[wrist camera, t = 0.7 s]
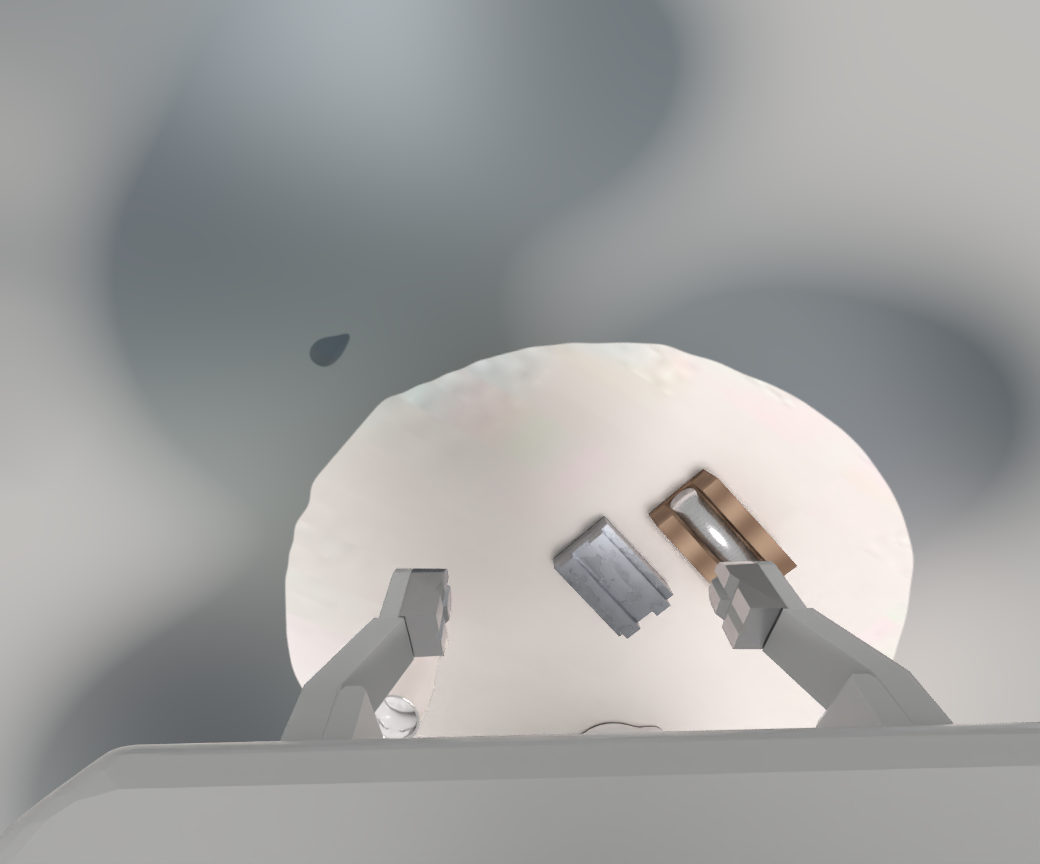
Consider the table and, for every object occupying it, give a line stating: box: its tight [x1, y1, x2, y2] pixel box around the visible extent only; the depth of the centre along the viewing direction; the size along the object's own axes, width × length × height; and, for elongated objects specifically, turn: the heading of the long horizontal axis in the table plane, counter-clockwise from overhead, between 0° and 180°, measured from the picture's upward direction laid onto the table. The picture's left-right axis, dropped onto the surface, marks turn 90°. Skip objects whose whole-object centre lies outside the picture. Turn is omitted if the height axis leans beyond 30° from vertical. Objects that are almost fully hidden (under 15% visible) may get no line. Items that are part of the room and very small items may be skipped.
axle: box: [670, 488, 759, 562], centre depth 55 cm, size 16×4×4 cm, turn 43°
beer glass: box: [375, 636, 448, 739], centre depth 56 cm, size 7×7×15 cm
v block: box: [554, 517, 673, 638], centre depth 58 cm, size 14×10×4 cm
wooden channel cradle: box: [649, 469, 797, 583], centre depth 56 cm, size 16×10×5 cm, turn 43°
